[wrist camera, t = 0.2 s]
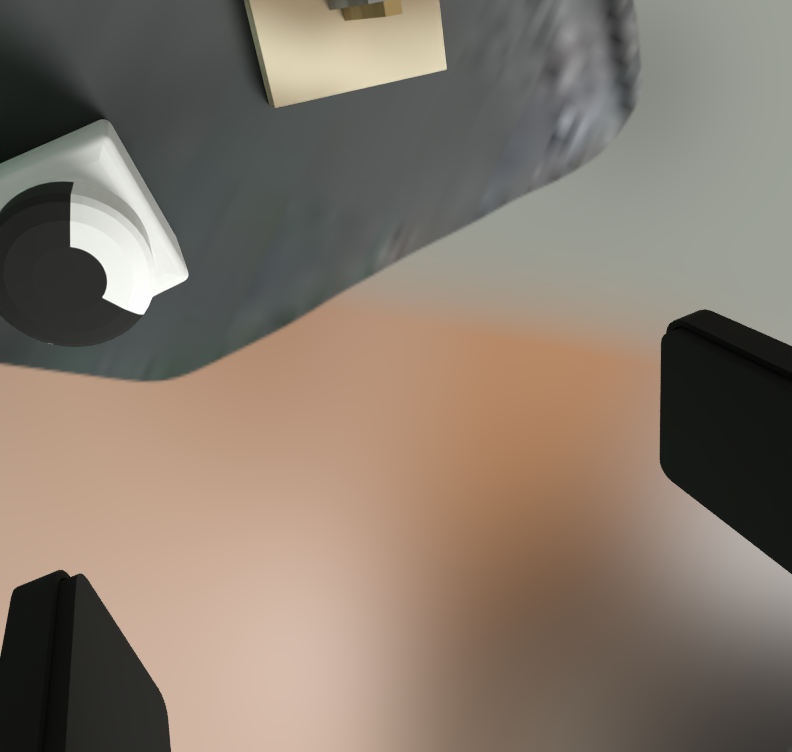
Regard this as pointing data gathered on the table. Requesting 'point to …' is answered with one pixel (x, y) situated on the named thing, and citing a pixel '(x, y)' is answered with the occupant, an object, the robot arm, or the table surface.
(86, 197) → the medicine bottle
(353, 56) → the post block
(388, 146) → the table surface
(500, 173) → the table surface
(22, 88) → the table surface
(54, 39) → the table surface
